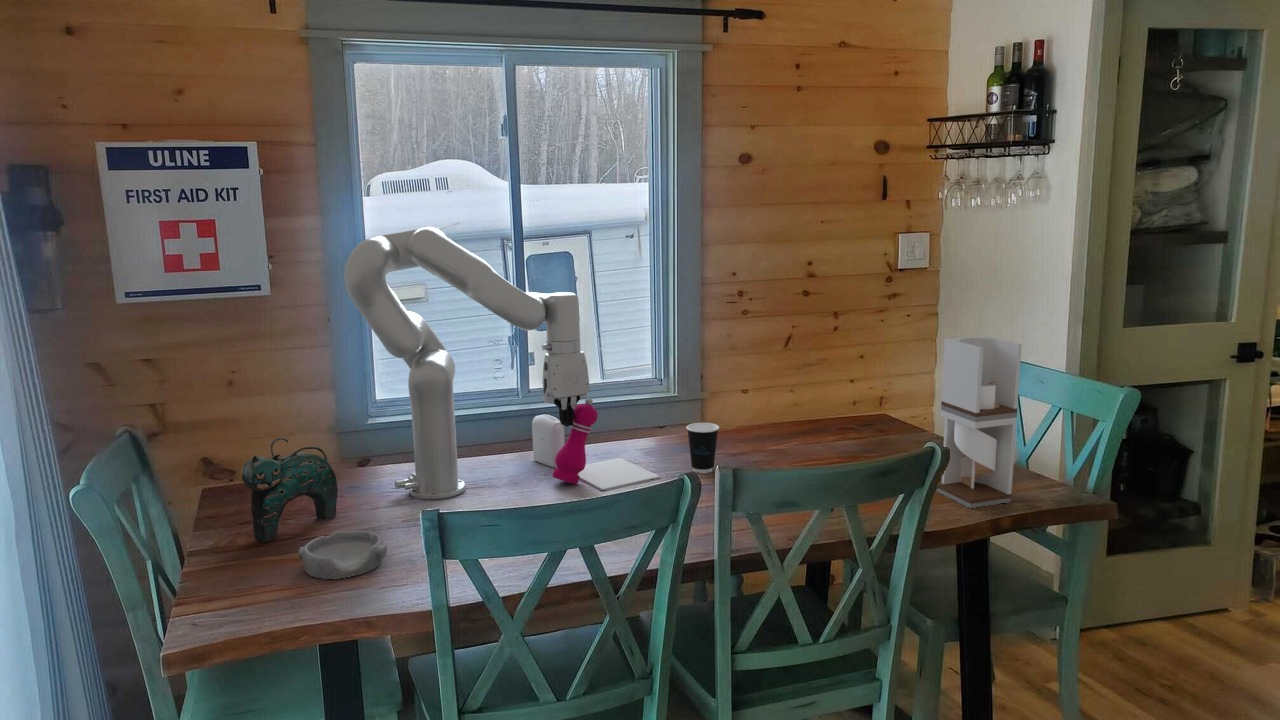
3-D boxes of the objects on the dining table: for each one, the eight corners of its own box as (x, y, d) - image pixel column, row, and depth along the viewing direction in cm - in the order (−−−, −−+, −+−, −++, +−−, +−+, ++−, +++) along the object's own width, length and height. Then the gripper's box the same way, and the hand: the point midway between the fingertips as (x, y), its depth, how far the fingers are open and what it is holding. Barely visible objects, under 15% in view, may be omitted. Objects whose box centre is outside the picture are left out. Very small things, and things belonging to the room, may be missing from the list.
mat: (602, 491, 211) (602, 489, 211) (564, 471, 225) (564, 469, 225) (659, 478, 219) (659, 476, 219) (619, 459, 234) (619, 457, 234)
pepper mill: (576, 485, 211) (602, 402, 212) (547, 476, 212) (572, 393, 213) (582, 483, 218) (607, 402, 219) (553, 474, 219) (578, 393, 220)
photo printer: (530, 460, 235) (529, 413, 232) (545, 457, 237) (543, 410, 235) (553, 469, 227) (552, 421, 224) (567, 466, 229) (566, 418, 227)
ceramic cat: (260, 547, 181) (250, 449, 177) (241, 540, 184) (231, 444, 180) (344, 517, 197) (337, 426, 193) (325, 511, 200) (318, 422, 196)
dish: (397, 565, 172) (395, 540, 171) (329, 590, 162) (327, 563, 161) (355, 545, 181) (353, 521, 180) (288, 568, 171) (286, 542, 170)
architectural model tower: (936, 492, 207) (944, 339, 200) (975, 486, 211) (984, 335, 204) (970, 509, 197) (979, 347, 190) (1010, 502, 200) (1021, 344, 193)
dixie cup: (696, 477, 220) (696, 432, 218) (680, 468, 227) (680, 425, 224) (725, 472, 223) (725, 428, 221) (708, 463, 230) (708, 421, 228)
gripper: (541, 353, 202) (545, 433, 206) (600, 345, 210) (603, 423, 214) (526, 348, 209) (530, 426, 212) (584, 341, 217) (587, 416, 220)
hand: (567, 424), depth 213 cm, fingers closed
